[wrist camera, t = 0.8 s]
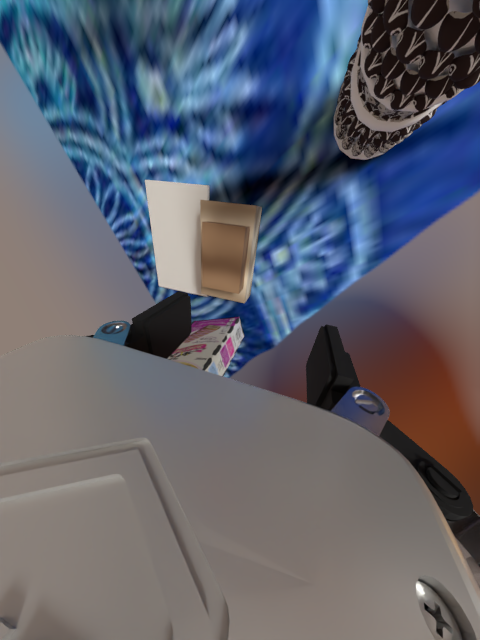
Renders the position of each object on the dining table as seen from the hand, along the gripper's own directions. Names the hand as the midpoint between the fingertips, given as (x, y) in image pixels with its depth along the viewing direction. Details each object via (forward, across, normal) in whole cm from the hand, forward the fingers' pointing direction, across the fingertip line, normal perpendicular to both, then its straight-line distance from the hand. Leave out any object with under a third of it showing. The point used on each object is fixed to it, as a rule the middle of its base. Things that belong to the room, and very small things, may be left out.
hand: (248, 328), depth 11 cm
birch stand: (+22, +8, 0) cm, 23 cm away
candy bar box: (+22, +10, +16) cm, 29 cm away
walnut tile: (+18, +8, 0) cm, 20 cm away
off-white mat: (+22, +18, 0) cm, 29 cm away
